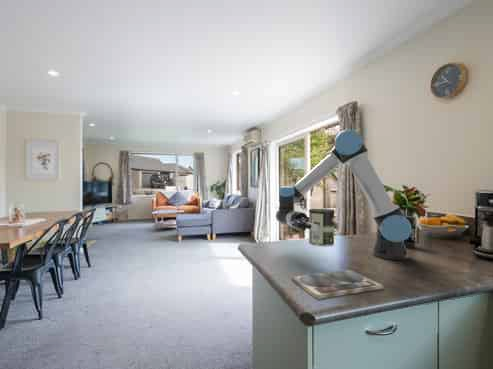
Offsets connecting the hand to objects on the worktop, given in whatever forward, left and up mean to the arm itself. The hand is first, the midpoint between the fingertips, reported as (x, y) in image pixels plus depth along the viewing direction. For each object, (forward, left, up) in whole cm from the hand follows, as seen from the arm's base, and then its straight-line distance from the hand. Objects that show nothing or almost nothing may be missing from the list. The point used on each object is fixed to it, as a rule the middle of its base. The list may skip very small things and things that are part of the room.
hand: (328, 227), depth 104 cm
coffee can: (+2, -4, -8) cm, 9 cm away
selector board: (0, +13, -18) cm, 22 cm away
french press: (-52, -50, -18) cm, 75 cm away
